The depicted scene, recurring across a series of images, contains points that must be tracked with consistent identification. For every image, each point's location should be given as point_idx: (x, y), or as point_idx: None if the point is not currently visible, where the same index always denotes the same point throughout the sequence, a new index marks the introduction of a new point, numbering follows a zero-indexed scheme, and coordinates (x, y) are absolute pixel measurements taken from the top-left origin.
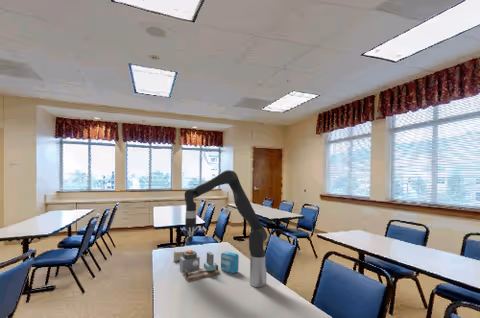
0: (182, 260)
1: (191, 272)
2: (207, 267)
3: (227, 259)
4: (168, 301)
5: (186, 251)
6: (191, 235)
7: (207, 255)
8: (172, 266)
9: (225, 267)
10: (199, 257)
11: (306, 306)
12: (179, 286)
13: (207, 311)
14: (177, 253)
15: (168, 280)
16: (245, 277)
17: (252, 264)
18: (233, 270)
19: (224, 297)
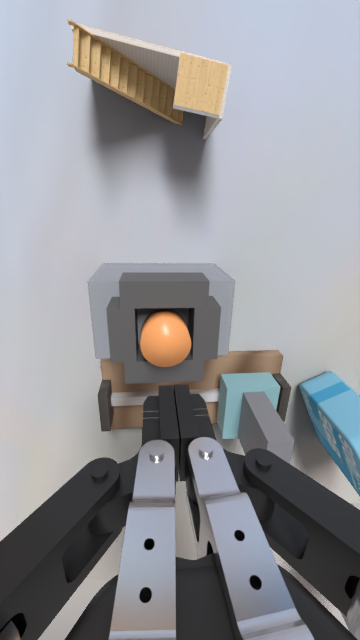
0: (95, 347)
1: (138, 398)
2: (221, 429)
3: (344, 457)
4: (9, 516)
5: (147, 287)
6: (191, 504)
7: (259, 437)
8: (64, 197)
9: (314, 414)
10: (226, 354)
11: (327, 609)
12: (63, 446)
13: (113, 576)
14: (115, 47)
15: (19, 380)
16: (329, 473)
17: (346, 622)
18: (323, 444)
19: (186, 544)
